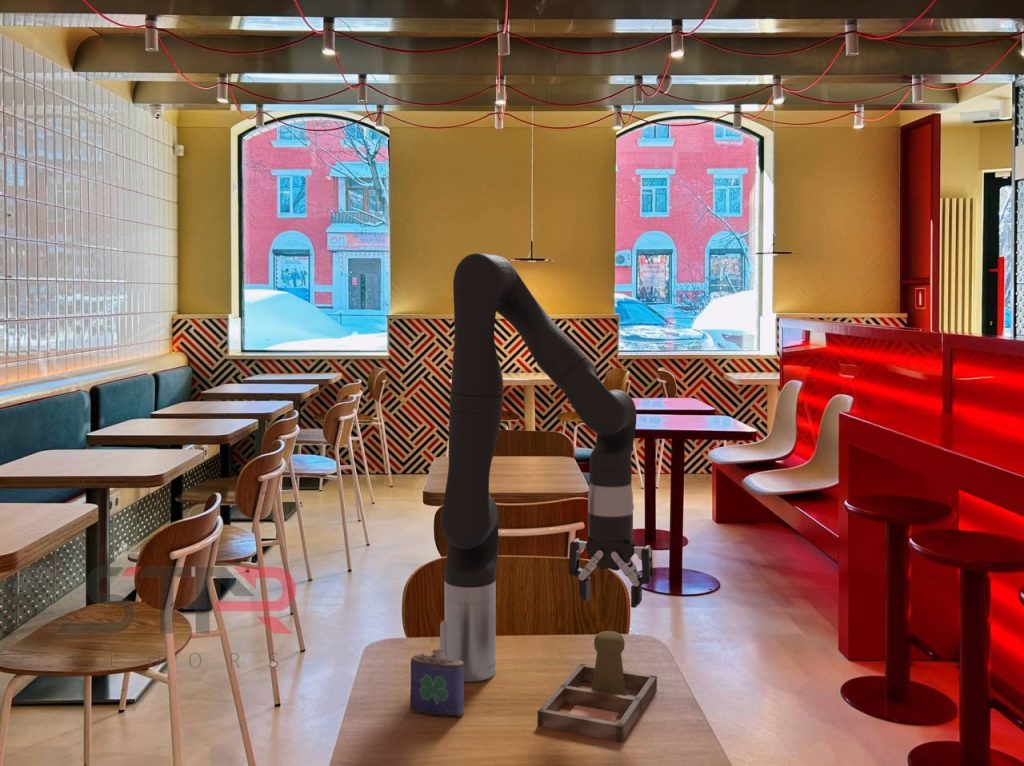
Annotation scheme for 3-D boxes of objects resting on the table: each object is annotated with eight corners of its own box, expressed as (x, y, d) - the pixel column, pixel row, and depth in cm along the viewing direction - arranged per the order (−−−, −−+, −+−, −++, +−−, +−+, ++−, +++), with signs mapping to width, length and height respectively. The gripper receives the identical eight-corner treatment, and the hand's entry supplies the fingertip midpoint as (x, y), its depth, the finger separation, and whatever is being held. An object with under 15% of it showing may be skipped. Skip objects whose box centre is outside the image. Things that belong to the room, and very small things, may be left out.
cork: (624, 704, 161) (625, 641, 160) (588, 701, 162) (589, 638, 161) (627, 689, 167) (628, 628, 166) (593, 687, 168) (593, 626, 167)
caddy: (537, 725, 153) (537, 710, 153) (580, 677, 172) (580, 663, 172) (622, 742, 148) (622, 726, 147) (656, 690, 167) (656, 676, 167)
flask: (466, 712, 158) (465, 649, 157) (460, 720, 155) (459, 656, 154) (413, 705, 160) (412, 643, 159) (407, 713, 158) (406, 650, 157)
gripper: (563, 510, 161) (563, 605, 162) (646, 518, 155) (645, 615, 157) (577, 501, 168) (577, 592, 169) (657, 508, 162) (657, 601, 164)
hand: (610, 603), depth 163 cm, fingers open, 8 cm apart
